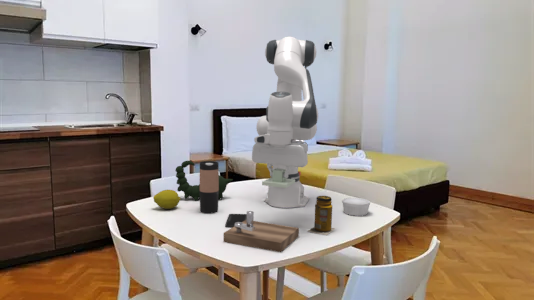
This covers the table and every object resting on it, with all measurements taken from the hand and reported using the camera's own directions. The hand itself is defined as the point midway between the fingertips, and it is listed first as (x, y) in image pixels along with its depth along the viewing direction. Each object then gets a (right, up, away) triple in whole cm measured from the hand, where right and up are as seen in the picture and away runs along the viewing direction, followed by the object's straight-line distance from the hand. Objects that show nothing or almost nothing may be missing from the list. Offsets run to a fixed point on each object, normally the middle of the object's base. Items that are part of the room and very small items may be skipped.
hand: (279, 177), depth 148 cm
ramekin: (+32, -17, +23) cm, 43 cm away
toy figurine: (-33, -13, +40) cm, 53 cm away
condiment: (+15, -19, 0) cm, 24 cm away
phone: (-15, -18, +8) cm, 25 cm away
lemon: (-45, -15, +23) cm, 53 cm away
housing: (-6, -20, -10) cm, 23 cm away
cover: (0, -3, 0) cm, 2 cm away
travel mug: (-28, -15, +21) cm, 38 cm away
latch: (-12, -16, -14) cm, 24 cm away
